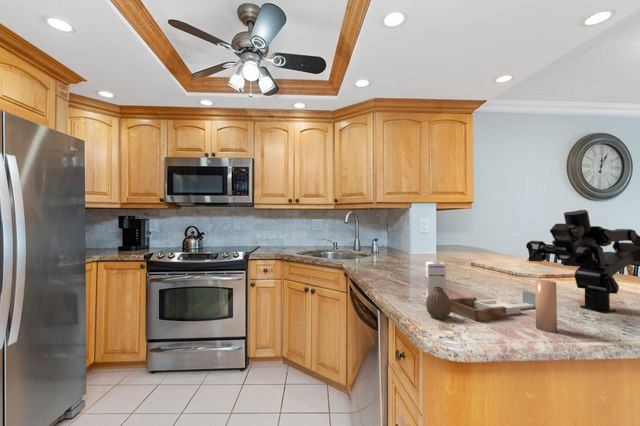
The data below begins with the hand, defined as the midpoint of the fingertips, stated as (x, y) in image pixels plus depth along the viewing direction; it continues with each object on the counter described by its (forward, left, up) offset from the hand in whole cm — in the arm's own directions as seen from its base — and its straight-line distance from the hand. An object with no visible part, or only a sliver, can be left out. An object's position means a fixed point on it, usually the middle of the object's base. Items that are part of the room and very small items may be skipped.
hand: (545, 261), depth 84 cm
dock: (+15, -10, -17) cm, 25 cm away
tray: (+2, -10, -17) cm, 20 cm away
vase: (+29, -10, -17) cm, 35 cm away
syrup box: (+22, -20, -17) cm, 35 cm away
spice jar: (+8, +6, -17) cm, 20 cm away
